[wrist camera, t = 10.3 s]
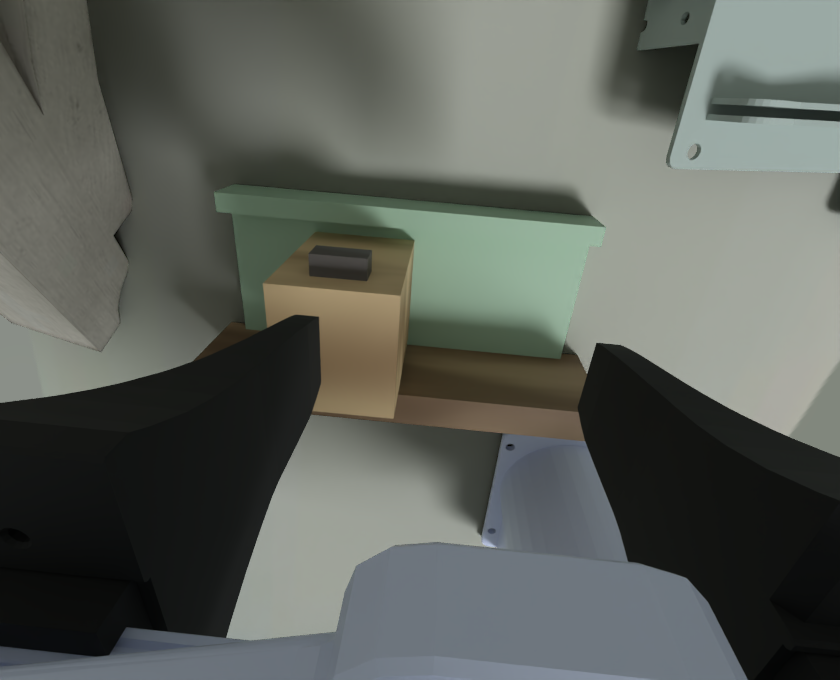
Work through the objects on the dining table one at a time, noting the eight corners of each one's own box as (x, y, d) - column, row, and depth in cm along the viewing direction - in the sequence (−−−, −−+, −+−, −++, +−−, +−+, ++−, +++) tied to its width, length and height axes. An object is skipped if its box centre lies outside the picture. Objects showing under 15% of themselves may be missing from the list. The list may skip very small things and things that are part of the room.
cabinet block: (408, 338, 23) (393, 418, 17) (319, 330, 23) (275, 407, 17) (415, 222, 20) (401, 272, 14) (314, 213, 20) (260, 259, 14)
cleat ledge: (557, 353, 23) (566, 373, 22) (250, 323, 24) (234, 342, 22) (592, 216, 20) (606, 227, 18) (234, 184, 20) (213, 192, 18)
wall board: (570, 379, 24) (597, 442, 20) (234, 347, 24) (186, 402, 20) (577, 354, 23) (606, 414, 19) (231, 322, 24) (181, 373, 19)
